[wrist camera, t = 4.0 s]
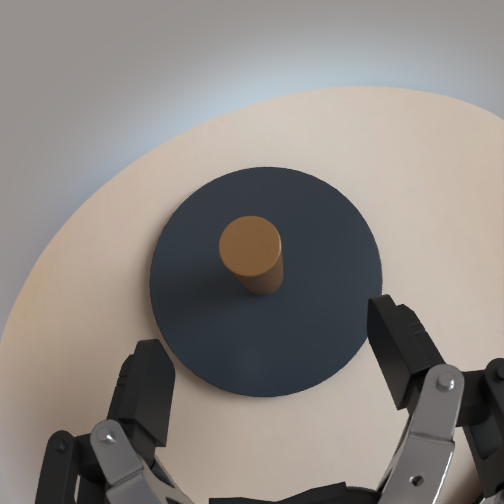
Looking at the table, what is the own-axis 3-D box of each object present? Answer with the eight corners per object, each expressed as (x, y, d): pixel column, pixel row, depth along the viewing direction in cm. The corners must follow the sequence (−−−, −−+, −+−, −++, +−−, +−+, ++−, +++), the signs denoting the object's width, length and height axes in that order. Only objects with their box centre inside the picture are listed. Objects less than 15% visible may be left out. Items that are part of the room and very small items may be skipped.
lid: (175, 404, 18) (115, 440, 11) (148, 201, 23) (94, 147, 15) (397, 362, 17) (458, 379, 10) (342, 158, 22) (361, 84, 14)
